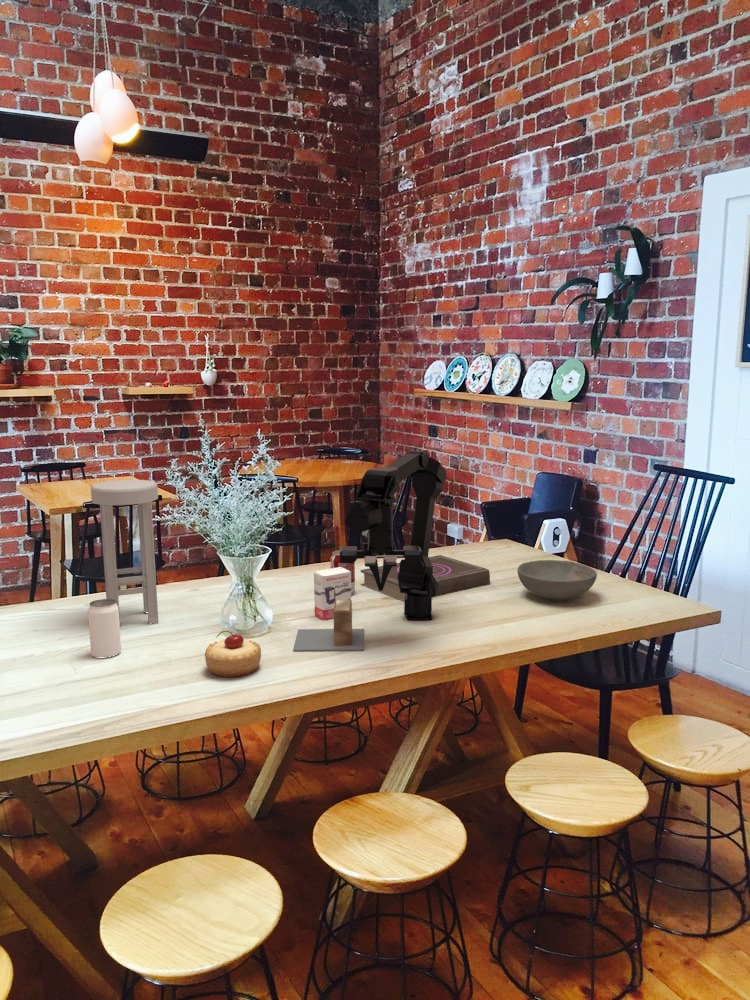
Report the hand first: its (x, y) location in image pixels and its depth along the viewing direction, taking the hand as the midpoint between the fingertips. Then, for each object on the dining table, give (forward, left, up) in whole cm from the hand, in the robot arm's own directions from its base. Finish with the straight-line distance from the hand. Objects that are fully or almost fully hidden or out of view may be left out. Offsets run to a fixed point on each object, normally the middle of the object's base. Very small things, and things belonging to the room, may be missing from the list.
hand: (380, 590), depth 185 cm
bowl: (-49, -33, -12) cm, 60 cm away
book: (-14, -47, -13) cm, 50 cm away
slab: (+9, 0, -12) cm, 15 cm away
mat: (+12, 0, -12) cm, 17 cm away
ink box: (+12, -19, -12) cm, 26 cm away
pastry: (+32, +17, -12) cm, 38 cm away
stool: (+63, -17, -12) cm, 66 cm away
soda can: (+10, -38, -12) cm, 41 cm away
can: (+62, +7, -12) cm, 64 cm away
